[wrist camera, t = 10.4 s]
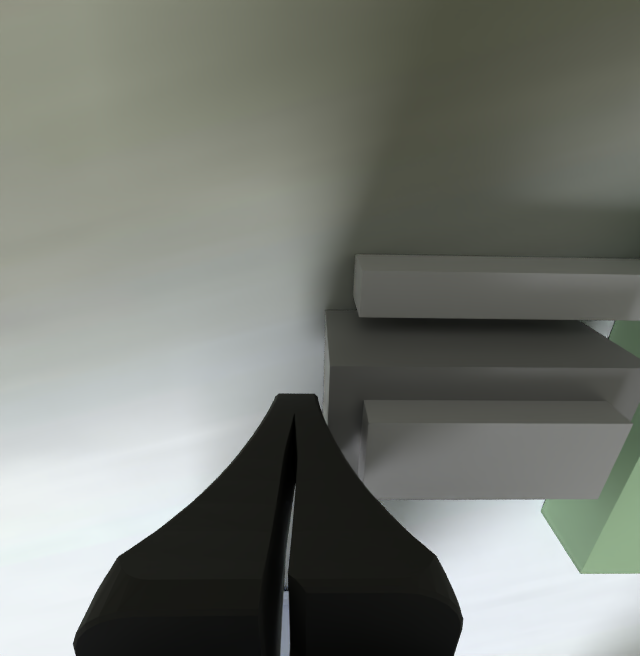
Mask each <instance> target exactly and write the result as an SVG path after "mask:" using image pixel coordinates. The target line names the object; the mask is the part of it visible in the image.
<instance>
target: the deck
mask: <svg viewBox="0 0 640 656" xmlns="http://www.w3.org/2000/svg"><path fill="white" fill-rule="evenodd" d="M353 297H354V301H355V304H356V308H357V311H358V315H359V317H382V318H463V319H544V320H616V321H615V324H614V326H613V329H612V331H611V334H610V337H609V340H611V341H612V342H614V343H616V344H617V345H619V346H620V347H622V348H624V349H625V350H627V351H628V352H630V353H632V354H633V355H635V356H636V357H638V358H640V259H623V258H562V257H501V256H439V255H378V254H355V271H354V287H353ZM631 422H632V423H633V426H632V428H631V430H630V432H629V434H628V436H627V438H626V440H625V443H624V445H623V447H622V449H621V451H620V453H619V455H618V457H617V460H616V462H615V464H614V466H613V468H612V470H611V472H610V474H609V477H608V479H607V481H606V483H605V485H604V487H603V489H602V491H601V494H600V496H599V498H598V499H546V500H545V503H544V505H543V508H542V510H541V513H542V514H543V516H544V518H545V519H546V521H547V522H548V524H549V525H550V527H551V529H552V530H553V532H554V533H555V535H556V536H557V538H558V540H559V541H560V543H561V544H562V546H563V547H564V549H565V551H566V552H567V554H568V555H569V557H570V558H571V560H572V562H573V563H574V565H575V566H576V568H577V569H578V571H579V573H580V574H635V573H640V403H639V405H638V407H637V409H636V411H635V413H634V416H633V418H632V420H631Z"/></svg>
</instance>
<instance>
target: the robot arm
mask: <svg viewBox="0 0 640 656" xmlns="http://www.w3.org/2000/svg"><path fill="white" fill-rule="evenodd" d="M295 484H296V490H295V503H294V515H293V527H292V538H291V549H290V559H289V569H288V591H284V575H285V558H286V547H287V538H288V531H289V524H290V517H291V510H292V503H293V496H294V489H295ZM462 626H463V617H462V614H461V610H460V606H459V603H458V600H457V598H456V596H455V593H454V591H453V589H452V586H451V584H450V582H449V580H448V578H447V575H446V573H445V571H444V569H443V567H442V566H441V564H440V562H439V560H438V558H437V556H436V555H435V554H434V553H432V552H431V551H430V550H429V549H428V548H426V547H425V546H424V545H423V544H422V543H421V542H419V541H418V540H417V539H416V538H415V537H414V536H412V535H411V534H410V533H409V532H408V531H407V530H406V529H405V528H404V527H403V526H402V525H401V524H400V523H399V522H398V521H397V520H396V519H395V518H394V517H393V516H392V515H391V514H390V513H389V512H388V511H387V510H386V509H385V508H384V507H383V506H382V504H381V503H380V502H379V501H378V500H377V499H376V498H375V497H374V496H373V495H372V493H371V492H370V491H369V490H368V489H367V487H366V486H365V485H364V484H363V482H362V481H361V480H360V478H359V477H358V476H357V474H356V473H355V472H354V470H353V469H352V467H351V466H350V464H349V463H348V461H347V460H346V458H345V457H344V455H343V453H342V452H341V450H340V448H339V447H338V445H337V443H336V441H335V440H334V438H333V436H332V434H331V432H330V430H329V428H328V426H327V423H326V421H325V419H324V416H323V414H322V411H321V408H320V405H319V401H318V397H317V396H316V395H315V394H278V395H277V396H275V399H274V401H273V403H272V405H271V407H270V409H269V411H268V412H267V414H266V416H265V417H264V419H263V421H262V422H261V424H260V425H259V427H258V428H257V430H256V431H255V433H254V434H253V436H252V437H251V438H250V440H249V441H248V442H247V444H246V445H245V446H244V448H243V449H242V450H241V451H240V453H239V454H238V455H237V457H236V458H235V459H234V460H233V461H232V462H231V464H230V465H229V466H228V467H227V468H226V469H225V470H224V471H223V472H222V474H221V475H220V476H219V477H218V478H217V479H216V480H215V481H214V482H213V483H212V484H211V485H210V486H209V487H208V488H207V489H206V490H205V491H204V492H203V493H201V494H200V495H199V496H198V497H197V498H196V499H195V500H194V501H193V502H192V503H190V504H189V505H188V506H187V507H186V508H184V509H183V510H182V511H181V512H179V513H178V514H177V515H176V516H175V517H173V518H172V519H171V520H170V521H168V522H167V523H166V524H165V525H163V526H162V527H161V528H159V529H158V530H157V531H155V532H154V533H153V534H151V535H150V536H148V537H147V538H145V539H144V540H142V541H141V542H139V543H138V544H137V545H135V546H134V547H132V548H131V549H129V550H128V551H126V552H125V553H123V554H122V555H120V556H119V557H118V558H117V559H116V561H115V562H114V564H113V566H112V567H111V569H110V571H109V572H108V574H107V575H106V577H105V578H104V580H103V582H102V583H101V585H100V587H99V588H98V590H97V592H96V594H95V596H94V598H93V600H92V602H91V604H90V606H89V608H88V610H87V612H86V614H85V616H84V618H83V620H82V622H81V624H80V626H79V628H78V630H77V632H76V635H75V638H74V642H73V646H74V650H75V654H76V656H454V653H455V650H456V647H457V644H458V641H459V638H460V635H461V631H462Z"/></svg>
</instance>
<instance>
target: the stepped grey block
mask: <svg viewBox="0 0 640 656" xmlns="http://www.w3.org/2000/svg"><path fill="white" fill-rule="evenodd" d="M639 403H640V358H638V357H636V356H635V355H633V354H632V353H630V352H628V351H627V350H625V349H624V348H622V347H620V346H619V345H617V344H616V343H614V342H612V341H611V340H609V339H608V338H606V337H604V336H603V335H601V334H600V333H598V332H596V331H595V330H593V329H592V328H590V327H588V326H587V325H585V324H584V323H582V322H580V321H579V320H544V319H463V318H382V317H359V315H358V311H357V310H325V345H324V383H323V416H324V419H325V421H326V423H327V426H328V428H329V430H330V432H331V434H332V436H333V438H334V440H335V441H336V443H337V445H338V447H339V448H340V450H341V452H342V453H343V455H344V457H345V458H346V460H347V461H348V463H349V464H350V466H351V467H352V469H353V470H354V472H355V473H356V474H357V476H358V477H359V478H360V480H361V481H362V482H363V484H364V485H365V486H366V487H367V489H368V490H369V491H370V492H371V493H372V495H373V496H374V497H375V498H376V499H377V500H475V499H598V498H599V496H600V494H601V491H602V489H603V487H604V485H605V483H606V481H607V479H608V477H609V474H610V472H611V470H612V468H613V466H614V464H615V462H616V460H617V457H618V455H619V453H620V451H621V449H622V447H623V445H624V443H625V440H626V438H627V436H628V434H629V432H630V430H631V428H632V426H633V423H632V422H631V420H632V418H633V416H634V413H635V411H636V409H637V407H638V405H639Z"/></svg>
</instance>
